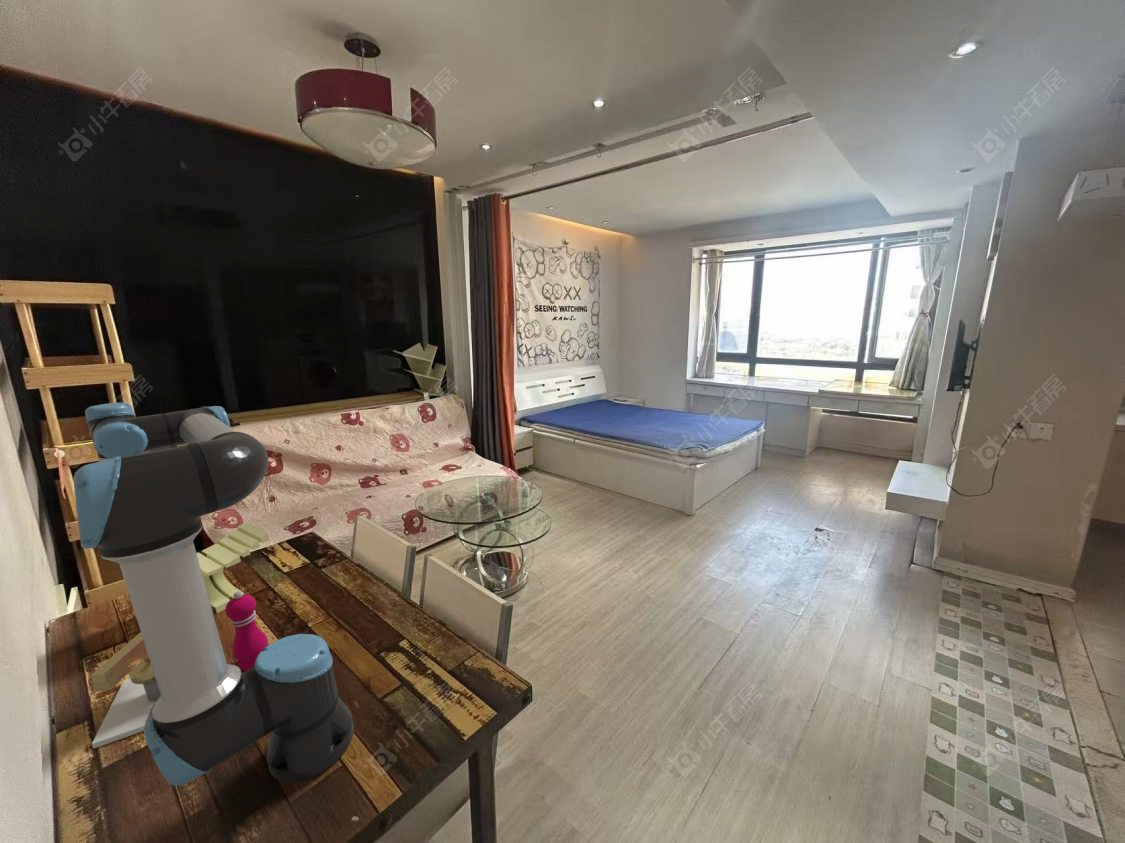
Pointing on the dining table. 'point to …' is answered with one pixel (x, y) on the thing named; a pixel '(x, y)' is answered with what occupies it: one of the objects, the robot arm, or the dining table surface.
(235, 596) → the pepper mill
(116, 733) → the base
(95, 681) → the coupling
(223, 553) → the slatted curved stool
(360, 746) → the dining table surface
